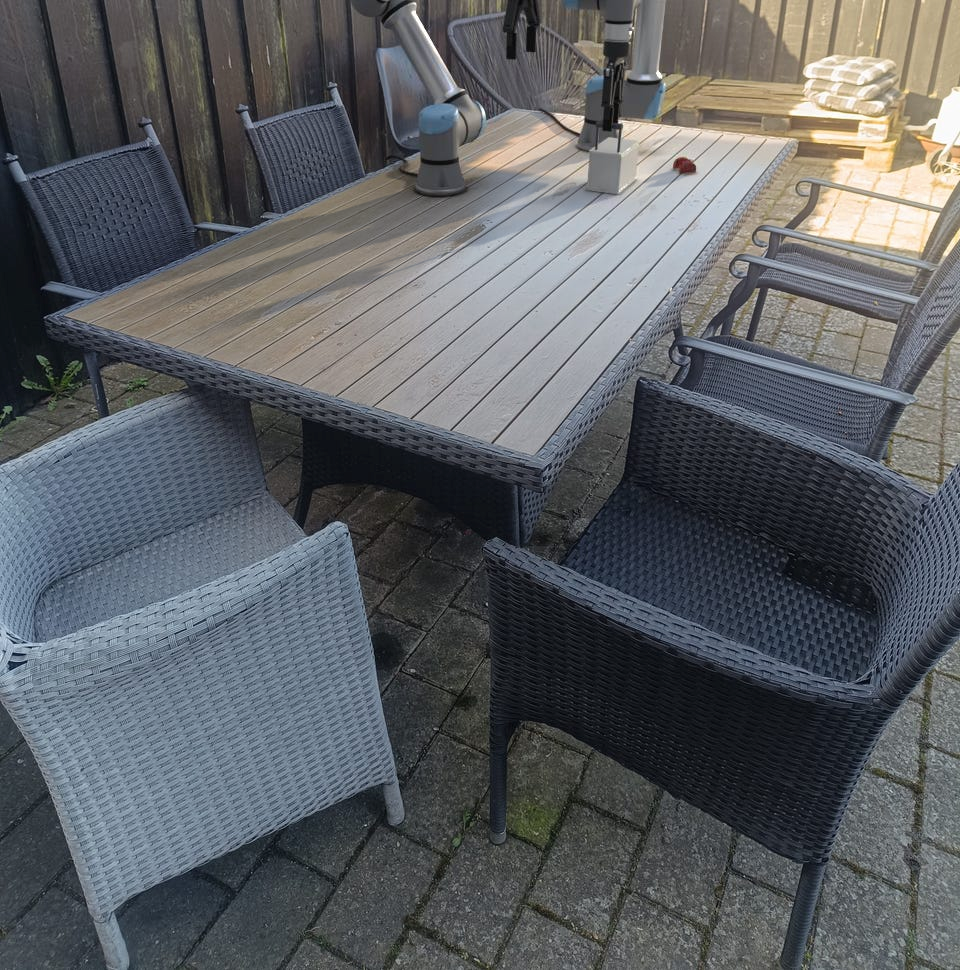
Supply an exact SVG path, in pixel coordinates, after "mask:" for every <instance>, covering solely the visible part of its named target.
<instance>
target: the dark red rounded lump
mask: <svg viewBox="0 0 960 970" xmlns="http://www.w3.org/2000/svg"><path fill="white" fill-rule="evenodd" d="M672 170H678V173H679V174H690V173H691V174H692V173H696V172H697V165H696V163H695V161H694V160H693V159H691V158H688V157H686V156H679V157H677V158H676V159H674V161H673V164H672Z"/></svg>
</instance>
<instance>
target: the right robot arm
mask: <svg viewBox="0 0 960 970" xmlns="http://www.w3.org/2000/svg"><path fill="white" fill-rule="evenodd" d="M666 1H667V0H562V4H563V6H564V8H566V9H568V10H575V11H577V10H579V11H583V10H584V11H605V21H604V32H603V39H605V40H604V41H603V46H602V47H603V49H602V55H603V56H604V57H607V58H608V60H607V64H606V67H605V68H603V70H602V71H603V72H602V74H600V75H596V76H593V77H590V78H589V79H588V80H587V83H586V87H585V89H586V90H585V101H584V102H585V103H584V114H583V115H584V117H583V118H584V119H583V125H582V128H581V131H580V132H577V131H575V130H572V129H571V128H569V127H567V126H566V125H564V124H563V123H562V122H561V121H559V119H557V117H556V116H555V115H554V114H552V112H549V111H548V110H546V109H544V108H542V107H539V108H538V111H540V112H541V113H544V114H546V115H548V116H549V117H550V118H551V119H553V121H555V122H556V124H558V126H559V127H560V128H562V129H563V130H565V131H566V132H568V133H570V134H573V135H575V136H578V139H577V143H576V144H577V145H576V146H577V148H578V149H580V150H582V151H586V152H589V150H591V149H592V148H594V147H595V142H596V129H597V128H596V122H597V121H600V122H603V128H599V140H598V144H600V143H601V142H603V141H604V140H605V139H607V138H608V137H611V138H618V135H619V130H615V129H612V124H613V123H619V120H620V118H622V119H623V118H624V119H625V118H626V119H637V120H642V121H645V120H656V118H657V117H658V116H659V115H660V112H661V109H662V107H663V103H664V98H665V94H666V90H667V89H666V88H667V83H666V82H664V81H663V75H662V74H661V72H660V71H659V67H660V57H661V49H662V38H663V28H664V19H665V11H666ZM636 9H637V10H636ZM635 10H636V11H637V13H636V22H635V23H636V24H635V28H634V27H633V22H634V12H635ZM634 31H635V35H634V47H633V58H632V67H631V68H632V69H631V71H630V72H629V73H628V74H627V76H626V70H627V66H628V62H627V61H625V60H624V58H628V57H629V56H630V55H631V47H632V42H631V39H632V33H633V32H634Z"/></svg>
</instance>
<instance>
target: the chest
mask: <svg viewBox="0 0 960 970" xmlns="http://www.w3.org/2000/svg"><path fill="white" fill-rule="evenodd" d="M639 150H640V143H639V144H638V145H637V146H635V147H634V148H633V149H631V150H630V151H629V152H627V153H626V154H625V155H624V156H622V157H621V158H620V157H612V156H604V155H595V154H588V155H589V158H588V170H587V186H586V191H590V192H597V193H604V194H605V193H606V194H611V195H619V194H621V193H622V192H623V191H624V190H625V189H627V188H628V187H629V186H630V185H631V184H632V183H633V182H635V181H636V178H637V169H638V159H639Z"/></svg>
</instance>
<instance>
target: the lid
mask: <svg viewBox="0 0 960 970" xmlns="http://www.w3.org/2000/svg"><path fill="white" fill-rule="evenodd" d="M596 128H597V129H596V142H595V147H594V148H592V149H591V150H589V151H588V155H590V154H595V155H604V156H612V157H620V158H621V157H622V156H624V155H625V154H626V153H627V152H629V151H630V150H631V149H633V148H634V147H635V146H637V145H638V144H639V145H640V140H637V139H629V138H628V139H627V138H622V132H623V130H624V123H619V122H618V123H613V124H612V129H615V130H618V131H619V135H618V138H611V137H608V138H607V139H605V140H604V141H603V142H601V143H600V144H598V140H599V128H603V122H600V121H597V122H596Z"/></svg>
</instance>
